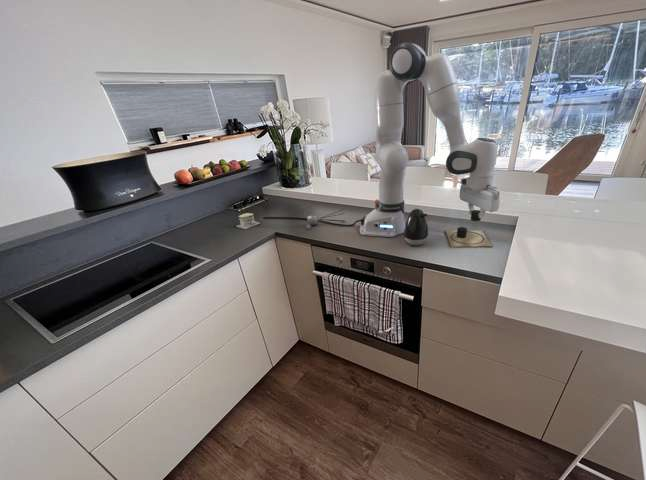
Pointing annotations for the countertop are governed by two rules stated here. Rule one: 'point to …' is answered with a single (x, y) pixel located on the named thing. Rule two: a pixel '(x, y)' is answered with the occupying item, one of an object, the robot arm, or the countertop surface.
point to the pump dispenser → (416, 227)
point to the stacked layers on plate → (247, 221)
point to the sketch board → (468, 239)
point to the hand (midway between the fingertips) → (476, 215)
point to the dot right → (475, 215)
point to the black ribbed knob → (461, 232)
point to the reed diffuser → (313, 220)
